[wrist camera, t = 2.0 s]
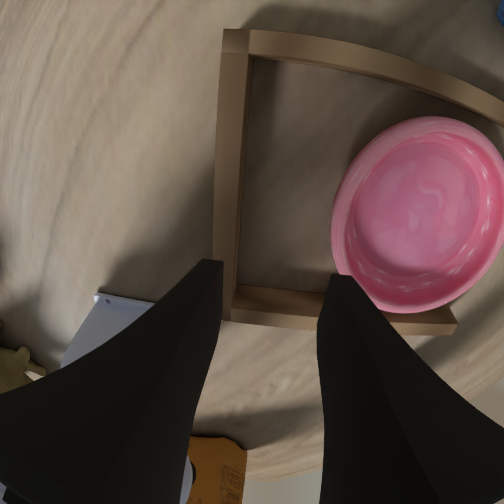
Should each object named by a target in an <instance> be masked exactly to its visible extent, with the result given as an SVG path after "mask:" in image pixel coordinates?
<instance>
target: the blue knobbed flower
mask: <svg viewBox="0 0 504 504" xmlns="http://www.w3.org/2000/svg"><path fill="white" fill-rule="evenodd" d="M496 15H497V17H498V20H499V21H500V23H501V24H502V25H503V26H504V0H501V2H500V5H499V8H498V11H497V13H496Z"/></svg>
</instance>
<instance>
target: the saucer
mask: <svg viewBox="0 0 504 504" xmlns="http://www.w3.org/2000/svg"><path fill="white" fill-rule="evenodd" d="M330 243H331V249H332V254H333V258H334V262H335V264H336V267H337V270H338V272H339V274H342V275H351V276H352V277H353V278H354V279H355V280H356V281H357V282H358V284H359V285H360V286H361V287H362V289H363V290H364V291H365V292H366V294H367V295H368V296H369V298H370V299H371V300H372V301H373V303H374V304H375V305H376V306H377V308H378V309H380V310H383V311H388V312H393V313H416V312H422V311H426V310H430V309H434V308H437V307H439V306H442V305H444V304H446V303H448V302H450V301H452V300H454V299H455V298H457V297H459V296H460V295H462V294H463V293H464V292H466V291H467V290H468V289H469V288H471V287H472V286H473V285H474V284H475V283H476V282H477V281H478V280H479V279H480V278H481V277H482V276H483V275H484V274H485V272H486V271H487V270H488V269H489V267H490V266H491V265H492V263H493V262H494V260H495V259H496V257H497V255H498V253H499V251H500V250H501V248H502V245H503V243H504V160H503V158H502V156H501V155H500V153H499V151H498V150H497V148H496V147H495V146H494V145H493V143H492V142H491V141H490V140H489V139H488V138H487V137H486V136H485V135H484V134H482V133H481V132H480V131H478V130H477V129H476V128H474V127H472V126H470V125H468V124H466V123H464V122H462V121H459V120H455V119H452V118H447V117H442V116H422V117H416V118H412V119H408V120H405V121H402V122H400V123H398V124H395V125H393V126H391V127H390V128H388V129H386V130H385V131H383V132H381V133H380V134H379V135H377V136H376V137H375V138H373V139H372V140H371V141H370V142H369V143H368V144H367V145H366V146H365V147H364V148H363V149H362V150H361V151H360V152H359V154H358V155H357V156H356V157H355V158H354V160H353V161H352V163H351V164H350V166H349V167H348V169H347V170H346V172H345V174H344V176H343V178H342V180H341V182H340V184H339V186H338V189H337V192H336V195H335V198H334V201H333V206H332V210H331V217H330Z"/></svg>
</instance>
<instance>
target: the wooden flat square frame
mask: <svg viewBox="0 0 504 504" xmlns="http://www.w3.org/2000/svg"><path fill="white" fill-rule="evenodd" d="M253 59H265V60H276V61H286V62H294V63H301V64H308V65H315V66H321V67H327V68H332V69H337V70H343V71H347V72H352V73H356V74H361V75H365V76H369V77H373V78H377V79H381V80H384V81H388V82H392V83H395V84H398V85H402V86H405V87H408V88H411V89H414V90H417V91H420V92H423V93H426V94H429V95H432V96H434V97H437V98H440V99H442V100H445V101H447V102H450V103H452V104H455V105H457V106H460V107H462V108H464V109H467V110H469V111H471V112H473V113H476V114H478V115H480V116H482V117H484V118H486V119H488V120H490V121H492V122H494V123H496V124H498V125H500V126H502V127H504V102H503V101H501V100H499V99H497V98H496V97H494V96H492V95H490V94H488V93H486V92H484V91H482V90H481V89H479V88H477V87H475V86H473V85H470V84H468V83H466V82H464V81H462V80H460V79H458V78H455V77H453V76H451V75H449V74H446V73H444V72H441V71H439V70H436V69H434V68H431V67H429V66H426V65H423V64H421V63H418V62H415V61H412V60H409V59H406V58H403V57H400V56H397V55H394V54H391V53H387V52H384V51H380V50H377V49H373V48H369V47H365V46H361V45H357V44H353V43H348V42H344V41H339V40H334V39H328V38H323V37H317V36H310V35H304V34H296V33H288V32H278V31H266V30H250V29H224V30H223V41H222V53H221V65H220V79H219V93H218V109H217V127H216V147H215V171H214V202H213V258H212V260H219V261H224V273H223V312H222V319H221V320H223V321H231V322H239V323H247V324H255V325H264V326H273V327H283V328H293V329H304V330H316V331H317V321H318V318H319V315H320V312H321V308H322V305H323V302H324V298H325V295H326V294H323V293H313V292H304V291H294V290H285V289H276V288H267V287H258V286H250V285H241V284H237V269H238V253H239V238H240V223H241V209H242V195H243V181H244V168H245V155H246V142H247V129H248V117H249V104H250V92H251V81H252V69H253ZM379 310H380V309H379ZM380 311H381V313H382V314H383V315H384V316H385V318H386V319H387V320H388V321H389V323H390V324H391V325H392V326H393V327H394V329H395V330H396V331H397V332H398V333H399V334H400V335H452V334H453V332H454V331H455V329H456V327H457V326H458V322H457V321H456V319H455V317H454V315H453V313H452V311H451V309H450V308H449V306H448V304H447V303H446V304H444V305H442V306H439V307H437V308H434V309H430V310H426V311H422V312H416V313H393V312H388V311H383V310H380Z"/></svg>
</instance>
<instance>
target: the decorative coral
mask: <svg viewBox="0 0 504 504" xmlns="http://www.w3.org/2000/svg"><path fill="white" fill-rule="evenodd" d="M1 325H2V324H1V321H0V328H1ZM29 359H30V351H29V350H28V348H26V347H21V348H20V349H19V350H18V351H17V352H16V351H14V350H11V349H3V348H0V394H1V393H4V392H7V391H10V390H13V389H16V388H18V387H21V386H24V385H26V384H28V383H31V382H33V380H32V379H31V378H30V377H29V376H27V375H26V374H25V373H24V372H23V371H24V370H29V371H32V372H34V373H36V374H39V375H41V376H45V375H46V370H45V368H43V367H41V366H38V365H36V364H34V363H33V362H32V361H31V360H29Z"/></svg>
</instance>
